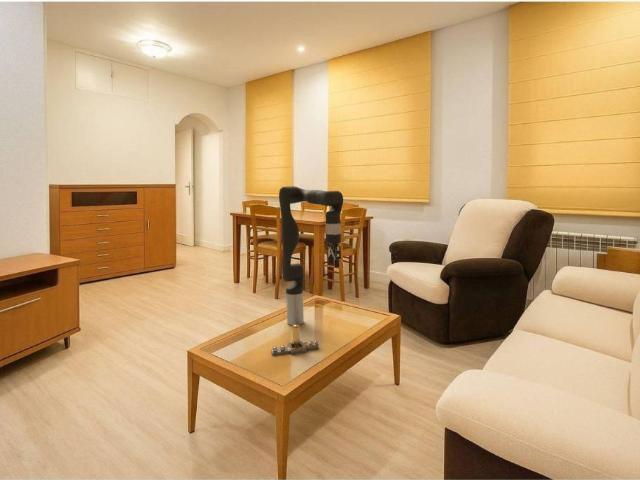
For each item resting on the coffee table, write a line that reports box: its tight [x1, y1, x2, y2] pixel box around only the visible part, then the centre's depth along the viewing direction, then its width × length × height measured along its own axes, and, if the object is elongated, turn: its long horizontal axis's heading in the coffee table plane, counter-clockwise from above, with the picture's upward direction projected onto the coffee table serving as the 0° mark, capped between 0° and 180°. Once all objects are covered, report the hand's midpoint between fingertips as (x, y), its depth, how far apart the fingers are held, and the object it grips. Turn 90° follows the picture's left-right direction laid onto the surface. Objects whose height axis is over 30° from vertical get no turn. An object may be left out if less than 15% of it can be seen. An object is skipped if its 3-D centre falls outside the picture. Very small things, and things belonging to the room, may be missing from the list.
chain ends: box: [270, 340, 320, 357], centre depth 177 cm, size 8×22×3 cm, turn 107°
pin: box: [291, 324, 301, 348], centre depth 177 cm, size 3×3×12 cm
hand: (333, 265), depth 188 cm, fingers open, 8 cm apart
